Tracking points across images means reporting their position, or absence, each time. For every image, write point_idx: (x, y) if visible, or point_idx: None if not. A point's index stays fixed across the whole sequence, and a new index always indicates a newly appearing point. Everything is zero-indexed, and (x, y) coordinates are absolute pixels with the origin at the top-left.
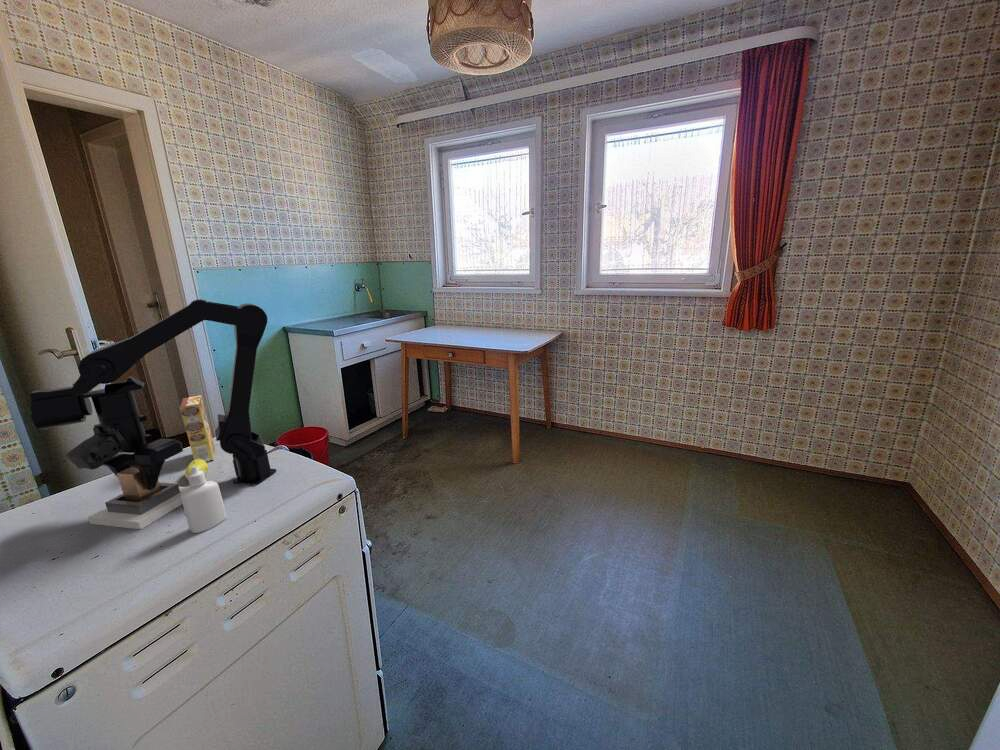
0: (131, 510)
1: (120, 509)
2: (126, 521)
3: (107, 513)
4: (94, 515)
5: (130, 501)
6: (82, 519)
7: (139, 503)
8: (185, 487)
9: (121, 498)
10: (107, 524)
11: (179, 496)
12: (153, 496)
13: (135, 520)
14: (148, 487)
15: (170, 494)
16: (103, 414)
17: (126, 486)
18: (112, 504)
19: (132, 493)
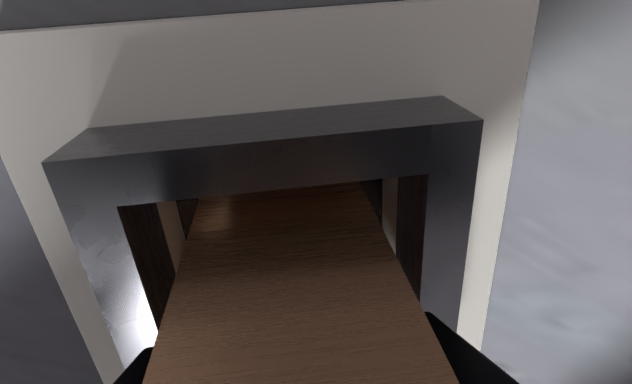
0: (173, 130)
1: (300, 118)
2: (101, 25)
3: (419, 75)
4: (505, 24)
5: (317, 213)
6: (625, 25)
7: (84, 193)
8: None
9: (419, 215)
10: (337, 6)
11: (113, 351)
12: (111, 299)
13: (20, 52)
14: (130, 373)
15: None
16: None
17: (330, 324)
18: (389, 124)
19: (260, 270)
